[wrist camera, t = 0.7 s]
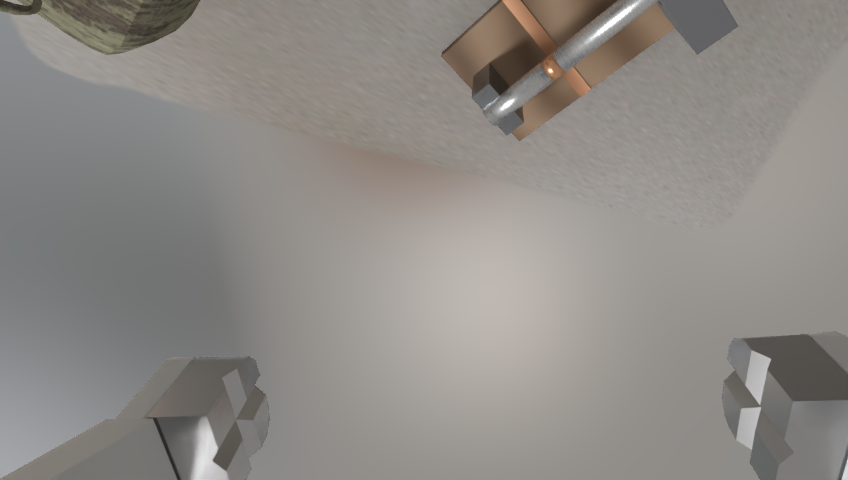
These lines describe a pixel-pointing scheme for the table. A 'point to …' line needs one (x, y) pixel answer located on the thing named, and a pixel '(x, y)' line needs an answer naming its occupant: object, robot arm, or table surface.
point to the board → (548, 48)
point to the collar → (699, 20)
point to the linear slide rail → (549, 66)
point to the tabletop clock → (109, 20)
